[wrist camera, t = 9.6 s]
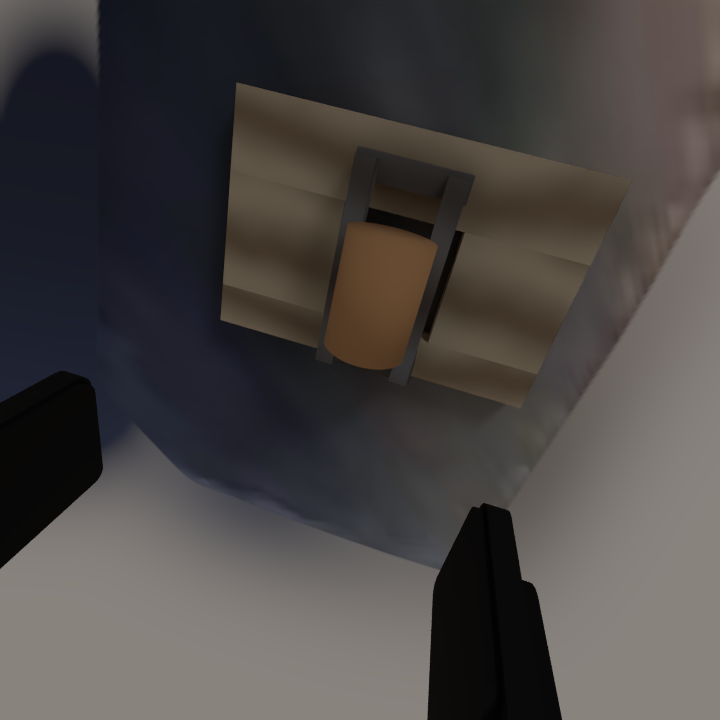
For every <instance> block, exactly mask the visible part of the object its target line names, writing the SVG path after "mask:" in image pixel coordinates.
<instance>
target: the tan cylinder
mask: <svg viewBox="0 0 720 720" xmlns="http://www.w3.org/2000/svg"><path fill="white" fill-rule="evenodd" d="M437 248H438V246H437V244H436V243H434V242H433V241H431V240H429V239H427V238H425V237H423V236H420V235H418V234H415V233H412V232H409V231H406V230H402V229H399V228H395V227H391V226H386V225H381V224H376V223H369V222H350V223H348V224H347V229H346V234H345V239H344V244H343V249H342V254H341V259H340V264H339V269H338V274H337V279H336V284H335V289H334V294H333V299H332V304H331V309H330V314H329V319H328V324H327V329H326V334H325V339H324V344H325V347H326V348H327V350H328V351H329V352H330V353H331V354H332V355H334V356H335V357H336V358H338V359H340V360H342V361H344V362H346V363H349V364H351V365H354V366H358V367H361V368H367V369H375V370H384V369H391V368H394V367H397V366H399V365H400V364H401V363H402V361H403V358H404V355H405V352H406V349H407V345H408V342H409V339H410V336H411V332H412V329H413V326H414V323H415V319H416V316H417V313H418V310H419V306H420V303H421V300H422V297H423V293H424V290H425V287H426V284H427V280H428V277H429V274H430V271H431V267H432V264H433V261H434V258H435V254H436V251H437Z"/></svg>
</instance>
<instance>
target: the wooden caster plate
mask: <svg viewBox="0 0 720 720" xmlns="http://www.w3.org/2000/svg"><path fill="white" fill-rule="evenodd" d="M631 182H632V180H629V179H625V178H621V177H617V176H613V175H609V174H605V173H601V172H597V171H593V170H588V169H584V168H580V167H576V166H572V165H568V164H564V163H560V162H556V161H552V160H548V159H544V158H540V157H536V156H532V155H528V154H524V153H520V152H516V151H512V150H508V149H503V148H499V147H495V146H491V145H487V144H483V143H479V142H475V141H471V140H467V139H463V138H459V137H455V136H451V135H447V134H443V133H439V132H435V131H431V130H427V129H422V128H418V127H414V126H410V125H406V124H402V123H398V122H394V121H390V120H386V119H382V118H378V117H374V116H370V115H366V114H362V113H358V112H354V111H350V110H346V109H341V108H337V107H333V106H329V105H325V104H321V103H317V102H313V101H309V100H305V99H301V98H297V97H293V96H289V95H285V94H281V93H277V92H273V91H269V90H265V89H260V88H256V87H252V86H248V85H244V84H240V83H237V84H236V99H235V114H234V128H233V143H232V158H231V173H230V188H229V203H228V218H227V233H226V247H225V262H224V277H223V292H222V307H221V320H223V321H226V322H230V323H233V324H236V325H240V326H243V327H247V328H250V329H253V330H257V331H260V332H264V333H267V334H270V335H274V336H277V337H280V338H284V339H287V340H291V341H294V342H297V343H301V344H304V345H308V346H311V347H314V348H317V352H316V357H315V360H318V361H321V362H324V363H328V364H331V365H332V363H333V362H334V361H337V362H341V363H344V364H347V365H351V364H349V363H346V362H344V361H342V360H340V359H338V358H336V357H335V356H334V355H332V354H331V353H330V352H329V351H328V350H327V348H326V347H325V344H324V339H325V334H326V329H327V324H328V319H329V314H330V309H331V304H332V299H333V294H334V289H335V284H336V279H337V274H338V269H339V264H340V259H341V254H342V249H343V244H344V239H345V234H346V229H347V224H348V223H350V222H366V219H367V214H368V210H369V207H371V208H374V209H378V210H382V211H386V212H390V213H393V214H397V215H401V216H405V217H408V218H412V219H416V220H420V221H424V222H427V223H431V224H435V225H434V228H433V231H432V235H431V238H430V240H431V241H433V242H434V243H436V244H437V246H438V248H437V251H436V254H435V258H434V261H433V264H432V267H431V271H430V274H429V277H428V280H427V284H426V287H425V290H424V293H423V297H422V300H421V303H420V306H419V310H418V313H417V316H416V319H415V323H414V326H413V329H412V332H411V336H410V339H409V342H408V345H407V349H406V352H405V355H404V358H403V361H402V363H401V364H400V365H399V366H397V367H394V368H391V369H384V370H375V369H367V368H361V367H358V366H354V365H351V366H354V367H357V368H361V369H364V370H367V371H371V372H374V373H378V374H381V375H384V376H388V377H389V380H388V382H392V383H395V384H398V385H402V386H406V382H408V383H409V380H410V377H411V376H413V377H416V378H419V379H423V380H426V381H429V382H433V383H436V384H440V385H443V386H446V387H450V388H453V389H457V390H460V391H463V392H467V393H470V394H473V395H477V396H480V397H484V398H487V399H490V400H494V401H497V402H501V403H504V404H507V405H511V406H514V407H518V408H521V406H522V404H523V402H524V400H525V398H526V396H527V394H528V392H529V390H530V388H531V386H532V384H533V382H534V380H535V378H536V376H537V374H538V372H539V370H540V367H541V365H542V363H543V361H544V359H545V357H546V355H547V353H548V351H549V349H550V347H551V345H552V343H553V341H554V339H555V337H556V335H557V333H558V331H559V329H560V327H561V325H562V323H563V321H564V319H565V317H566V315H567V313H568V310H569V308H570V306H571V304H572V302H573V300H574V298H575V296H576V294H577V292H578V290H579V288H580V286H581V284H582V282H583V280H584V278H585V276H586V274H587V272H588V270H589V268H590V266H591V264H592V262H593V260H594V258H595V256H596V254H597V251H598V249H599V247H600V245H601V243H602V241H603V239H604V237H605V235H606V233H607V231H608V229H609V227H610V225H611V223H612V221H613V219H614V217H615V215H616V213H617V211H618V209H619V207H620V205H621V203H622V201H623V199H624V197H625V195H626V192H627V190H628V188H629V186H630V184H631ZM455 230H458V231H461V232H463V233H462V236H461V239H460V242H459V245H458V248H457V251H456V254H455V257H454V260H453V263H452V266H451V269H450V272H449V275H448V278H447V281H446V284H445V287H444V290H443V293H442V296H441V299H440V302H439V305H438V308H437V311H436V315H435V318H434V321H433V324H432V327H431V330H430V333H428V332H425V331H423V330H424V327H425V323H426V320H427V317H428V314H429V311H430V308H431V305H432V302H433V299H434V295H435V292H436V289H437V286H438V283H439V280H440V277H441V274H442V271H443V268H444V264H445V261H446V258H447V255H448V252H449V249H450V246H451V243H452V240H453V236H454V233H455Z"/></svg>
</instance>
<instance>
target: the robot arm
mask: <svg viewBox="0 0 720 720" xmlns="http://www.w3.org/2000/svg"><path fill="white" fill-rule="evenodd" d="M101 454H102V453H101V444H100V434H99V425H98V416H97V405H96V395H95V389H94V388H93V387H92V386H91V383H90V381H89V380H88V379H87V378H85V377H82V376H79V375H75V374H72V373H69V372H66V371H59V372H57V373H54V374H53V375H51V376H49V377H47V378H45V379H43V380H42V381H40V382H38V383H36V384H34V385H32V386H31V387H29V388H27V389H25V390H23V391H21V392H19V393H18V394H16V395H14V396H12V397H10V398H8V399H7V400H5V401H3V402H1V403H0V569H1V568H2V567H3V566H4V565H5V564H6V563H7V562H8V561H9V560H10V559H11V558H13V557H14V556H15V555H16V554H17V553H18V552H19V551H20V550H21V549H23V548H24V547H25V546H26V545H27V544H28V543H29V542H30V541H31V540H33V539H34V538H35V537H36V536H37V535H38V534H39V533H40V532H41V531H42V530H44V528H46V527H47V526H48V525H49V524H50V523H51V522H52V521H53V520H54V519H56V518H57V517H58V516H59V515H60V514H61V513H62V512H63V511H64V510H65V509H67V508H68V507H69V506H70V505H71V504H72V503H73V502H74V501H75V500H76V499H78V498H79V497H80V496H81V495H82V494H83V493H84V492H85V491H86V490H88V489H89V488H90V487H91V486H92V485H93V484H94V483H95V482H96V481H97V480H98V479H99V477H100V475H101V473H102V470H103V463H102V455H101ZM428 697H429V698H428V719H427V720H562V717H561V712H560V707H559V702H558V697H557V692H556V686H555V681H554V676H553V671H552V666H551V661H550V656H549V650H548V646H547V640H546V635H545V630H544V625H543V620H542V615H541V610H540V604H539V599H538V595H537V592H536V589H535V587H534V586H533V584H532V583H529V582H527V581H524V580H522V578H521V572H520V566H519V560H518V554H517V548H516V542H515V536H514V529H513V524H512V517H511V514H510V512H509V511H508V510H505V509H502V508H499V507H495V506H492V505H489V504H486V503H483V504H482V505H481V506H480V508H477V507H472V508H471V510H470V512H469V514H468V516H467V518H466V520H465V522H464V524H463V526H462V528H461V530H460V532H459V534H458V536H457V538H456V540H455V542H454V544H453V546H452V548H451V550H450V552H449V554H448V556H447V558H446V560H445V562H444V564H443V566H442V568H441V570H440V572H439V574H438V576H437V578H436V581H435V585H434V590H433V605H432V629H431V650H430V673H429V696H428Z"/></svg>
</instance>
